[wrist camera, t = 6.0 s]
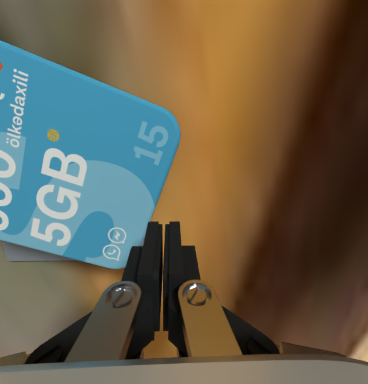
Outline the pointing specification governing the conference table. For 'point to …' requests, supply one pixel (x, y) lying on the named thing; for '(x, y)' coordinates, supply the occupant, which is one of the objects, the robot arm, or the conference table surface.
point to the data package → (78, 161)
